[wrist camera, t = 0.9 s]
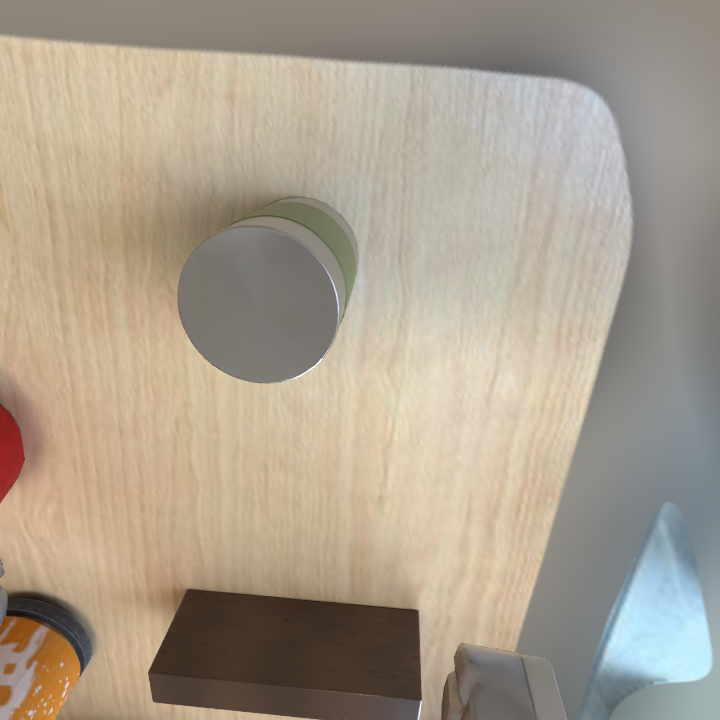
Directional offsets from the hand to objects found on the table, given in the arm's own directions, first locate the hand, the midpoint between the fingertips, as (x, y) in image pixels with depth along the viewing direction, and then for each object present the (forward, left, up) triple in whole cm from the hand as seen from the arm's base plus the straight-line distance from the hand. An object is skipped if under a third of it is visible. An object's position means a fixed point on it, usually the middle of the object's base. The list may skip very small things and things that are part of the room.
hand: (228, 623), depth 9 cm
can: (+2, -3, -23) cm, 24 cm away
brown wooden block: (+16, +23, -23) cm, 36 cm away
